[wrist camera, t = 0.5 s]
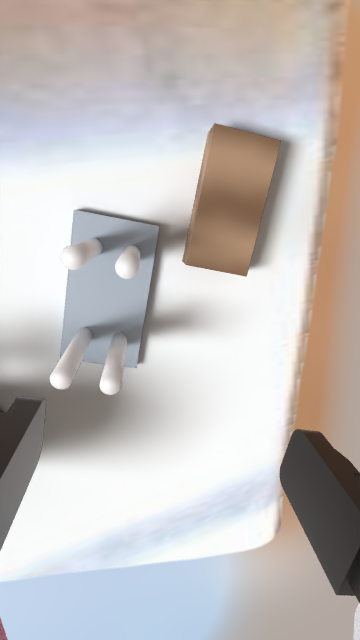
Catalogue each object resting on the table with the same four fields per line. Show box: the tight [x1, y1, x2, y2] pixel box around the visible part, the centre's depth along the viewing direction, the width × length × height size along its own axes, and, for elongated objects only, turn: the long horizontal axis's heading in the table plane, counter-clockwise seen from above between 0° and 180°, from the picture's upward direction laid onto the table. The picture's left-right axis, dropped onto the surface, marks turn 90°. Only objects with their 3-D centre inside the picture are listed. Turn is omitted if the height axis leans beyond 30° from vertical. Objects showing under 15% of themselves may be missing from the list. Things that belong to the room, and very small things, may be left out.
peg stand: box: [50, 210, 160, 395], centre depth 28 cm, size 15×8×11 cm, turn 169°
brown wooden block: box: [182, 123, 281, 276], centre depth 31 cm, size 12×6×4 cm, turn 169°
